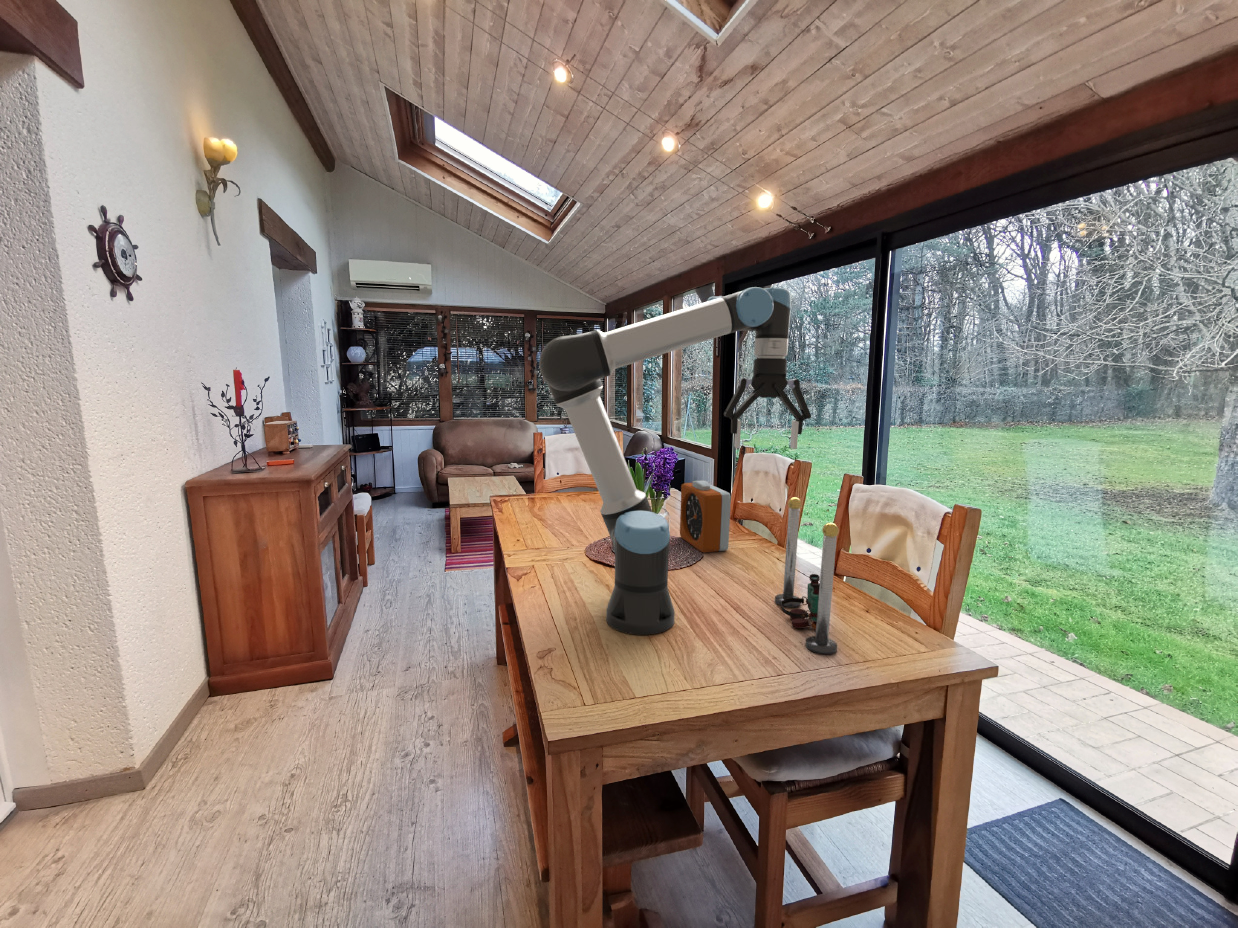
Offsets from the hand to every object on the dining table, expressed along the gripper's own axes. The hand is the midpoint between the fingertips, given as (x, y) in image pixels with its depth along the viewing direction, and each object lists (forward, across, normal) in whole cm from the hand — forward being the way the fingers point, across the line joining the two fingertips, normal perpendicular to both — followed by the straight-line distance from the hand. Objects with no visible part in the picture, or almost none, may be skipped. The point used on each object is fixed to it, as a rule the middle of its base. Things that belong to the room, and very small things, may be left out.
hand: (765, 447), depth 135 cm
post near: (+37, +6, -28) cm, 47 cm away
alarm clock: (+37, -7, +39) cm, 54 cm away
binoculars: (+37, +6, -17) cm, 41 cm away
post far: (+37, +6, -6) cm, 38 cm away
